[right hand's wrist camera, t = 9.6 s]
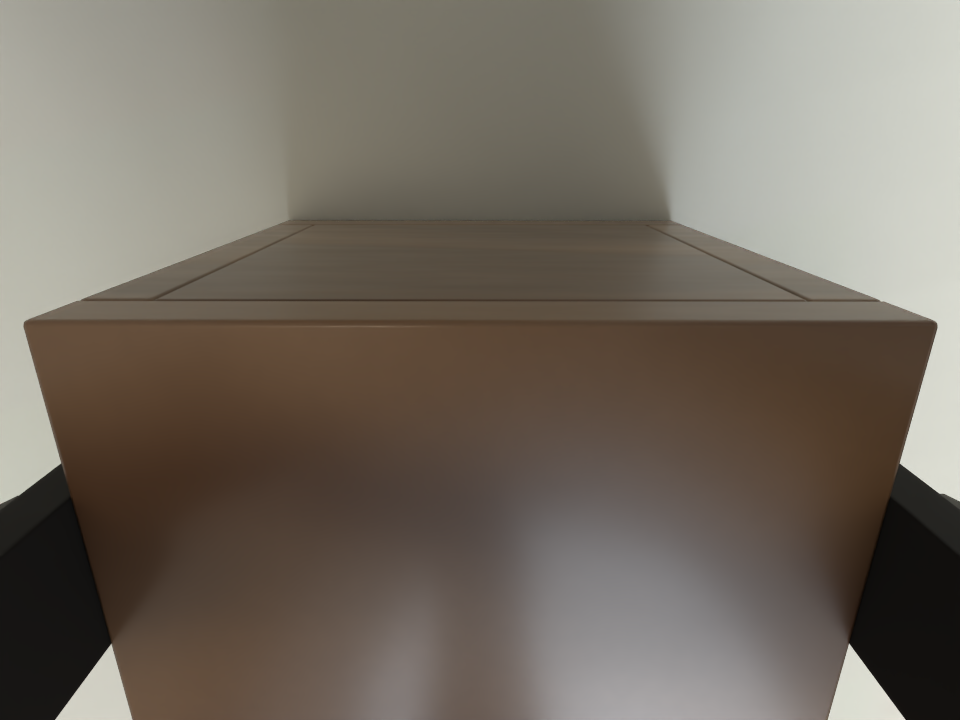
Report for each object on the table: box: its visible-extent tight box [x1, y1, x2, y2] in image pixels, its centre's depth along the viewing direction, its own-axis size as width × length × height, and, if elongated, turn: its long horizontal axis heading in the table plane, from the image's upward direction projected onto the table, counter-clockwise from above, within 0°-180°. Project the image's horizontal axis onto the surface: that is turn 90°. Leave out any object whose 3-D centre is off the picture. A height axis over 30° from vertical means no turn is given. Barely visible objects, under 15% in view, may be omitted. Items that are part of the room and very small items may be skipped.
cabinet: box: [24, 220, 937, 720], centre depth 16 cm, size 19×12×11 cm, turn 0°
